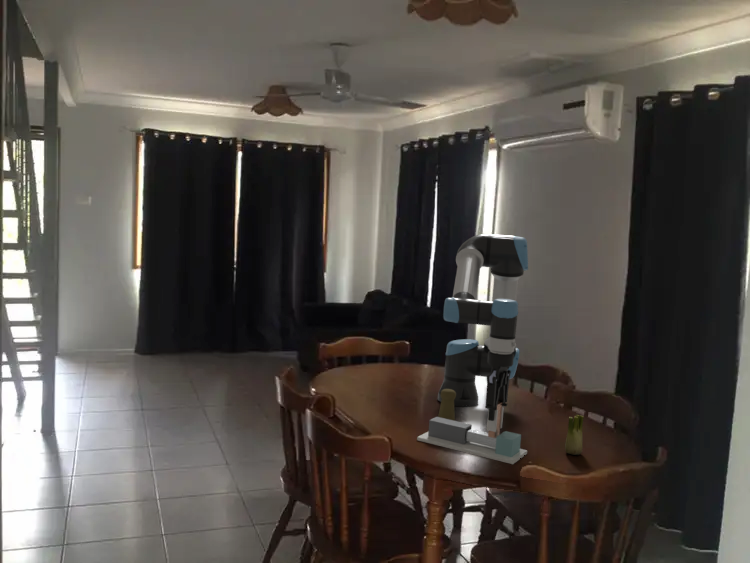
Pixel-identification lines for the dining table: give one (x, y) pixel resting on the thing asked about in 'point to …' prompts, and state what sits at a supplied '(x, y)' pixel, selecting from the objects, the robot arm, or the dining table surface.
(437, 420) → the outer sleeve
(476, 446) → the base board
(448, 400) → the cork
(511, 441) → the socket block
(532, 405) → the dining table surface
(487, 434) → the inner bar
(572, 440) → the fennel bulb
